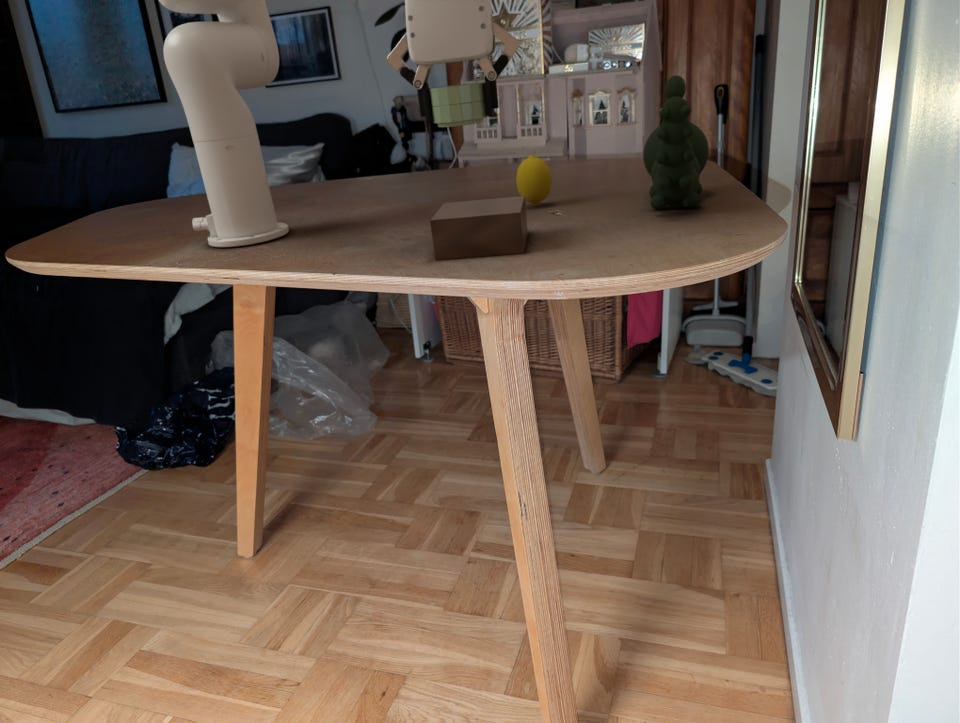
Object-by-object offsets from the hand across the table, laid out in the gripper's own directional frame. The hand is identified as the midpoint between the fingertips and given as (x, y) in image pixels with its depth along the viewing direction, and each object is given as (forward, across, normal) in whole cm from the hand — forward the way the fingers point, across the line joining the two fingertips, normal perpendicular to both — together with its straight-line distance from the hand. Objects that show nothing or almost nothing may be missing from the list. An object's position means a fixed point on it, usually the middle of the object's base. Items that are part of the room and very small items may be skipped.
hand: (460, 118), depth 87 cm
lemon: (+16, -7, -22) cm, 29 cm away
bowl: (+1, 0, 0) cm, 1 cm away
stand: (+16, -1, +2) cm, 16 cm away
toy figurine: (+16, -28, -15) cm, 36 cm away
